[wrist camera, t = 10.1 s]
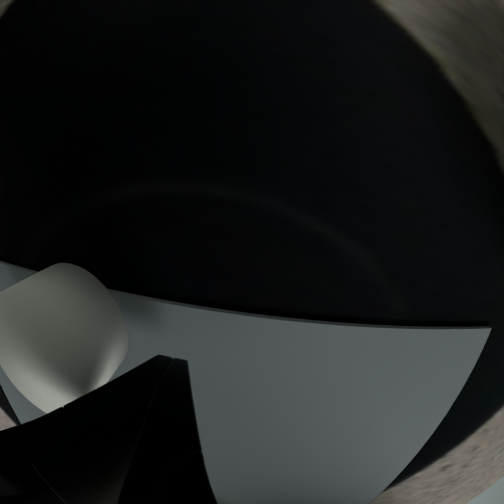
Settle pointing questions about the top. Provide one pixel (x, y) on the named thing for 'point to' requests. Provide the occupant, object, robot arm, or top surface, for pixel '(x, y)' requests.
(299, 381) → the mat
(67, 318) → the door stop
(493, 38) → the top surface
